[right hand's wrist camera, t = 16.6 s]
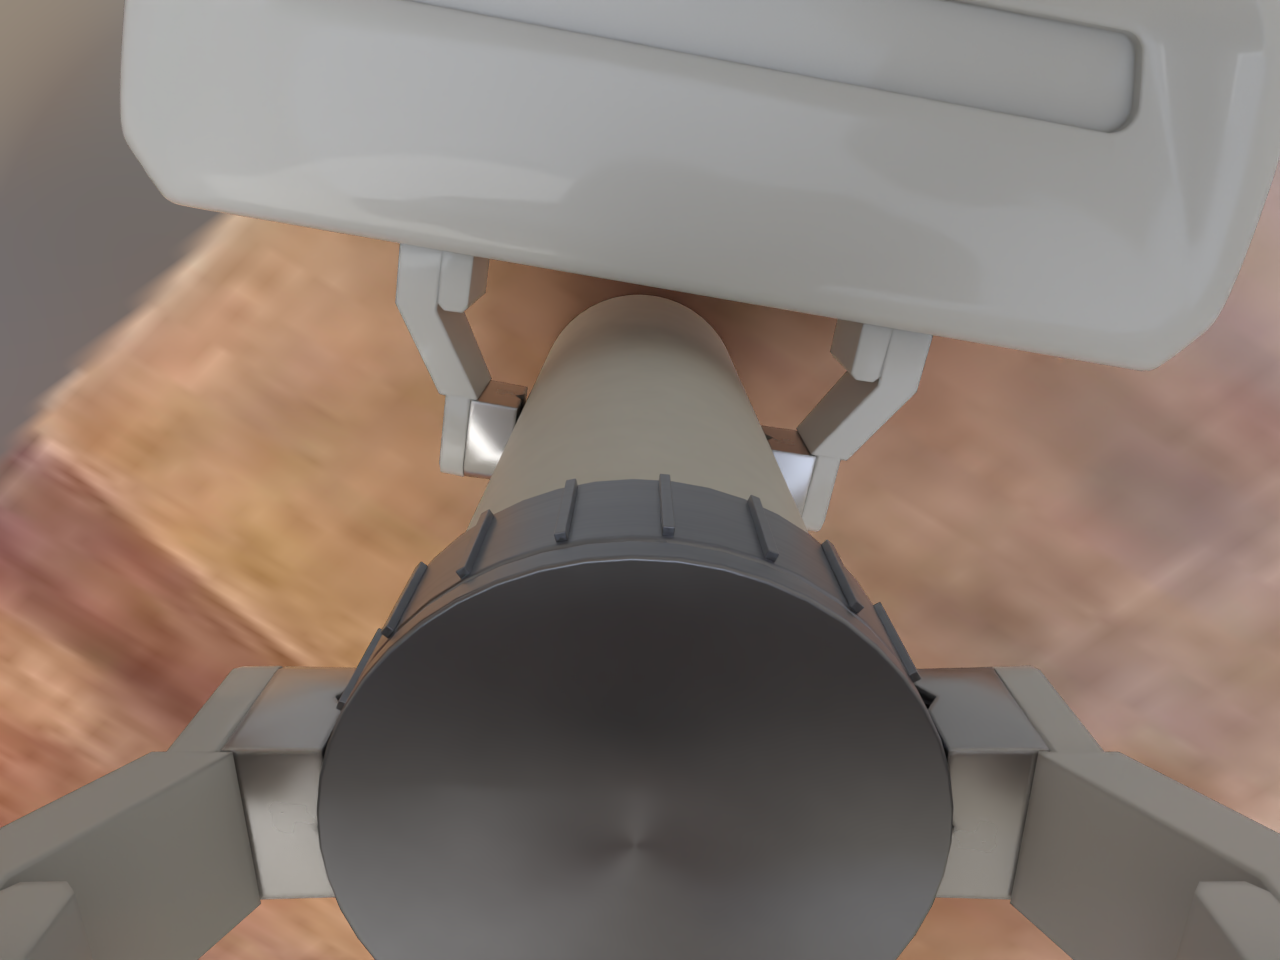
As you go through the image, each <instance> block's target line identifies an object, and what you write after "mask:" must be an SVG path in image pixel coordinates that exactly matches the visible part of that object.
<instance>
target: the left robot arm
mask: <svg viewBox="0 0 1280 960" xmlns="http://www.w3.org/2000/svg"><path fill="white" fill-rule="evenodd" d="M120 119H121V126H122V132H123V135H124V138H125V141H126V143H127V144H128V146H129V148H130V149H131V151H132V152H133V154H134V155H135V157H136V158H137V160H138V161H139V163H140V164H141V166H142V167H143V169H144V170H145V172H146V173H147V175H148V176H149V178H150V179H151V180H152V182H153V183H154V185H155V186H156V187H157V189H158V190H159V191H160V193H161V194H162V195H163V196H164V197H165V198H166V199H167V200H169V201H171V202H173V203H175V204H178V205H182V206H188V207H193V208H199V209H204V210H210V211H216V212H222V213H227V214H233V215H239V216H245V217H251V218H256V219H262V220H268V221H274V222H279V223H285V224H291V225H297V226H303V227H308V228H314V229H320V230H326V231H332V232H337V233H343V234H349V235H355V236H361V237H366V238H372V239H378V240H384V241H389V242H395V243H400V249H399V262H398V276H397V289H396V305H397V307H398V309H399V311H400V313H401V316H402V318H403V320H404V322H405V324H406V326H407V328H408V330H409V332H410V334H411V336H412V338H413V340H414V342H415V345H416V347H417V349H418V351H419V353H420V355H421V357H422V359H423V361H424V363H425V365H426V367H427V369H428V371H429V374H430V376H431V378H432V380H433V382H434V384H435V386H436V388H437V390H438V392H439V394H442V395H446V397H445V408H444V418H443V429H442V439H441V450H440V460H439V464H440V471H441V472H443V473H448V474H453V475H458V476H470V477H477V478H484V479H491V476H492V474H493V472H494V470H495V468H496V466H497V464H498V461H499V459H500V457H501V455H502V453H503V451H504V448H505V446H506V444H507V442H508V440H509V438H510V436H511V433H512V431H513V429H514V427H515V425H516V423H517V421H518V418H519V416H520V414H521V412H522V410H523V408H524V405H525V403H526V396H527V388H528V387H525V386H520V385H514V384H509V383H504V382H498V381H493V380H491V379H492V378H491V376H490V373H489V371H488V368H487V366H486V364H485V361H484V359H483V356H482V354H481V351H480V349H479V347H478V344H477V342H476V339H475V337H474V334H473V332H472V330H471V327H470V325H469V322H468V320H467V317H466V315H465V313H464V311H465V310H466V309H467V308H468V307H470V306H471V305H472V304H473V303H474V302H475V301H477V300H478V299H479V298H480V297H481V296H482V295H484V294H485V293H486V284H487V276H488V268H489V259H494V260H500V261H505V262H511V263H517V264H523V265H528V266H534V267H540V268H546V269H552V270H557V271H563V272H569V273H575V274H581V275H586V276H592V277H598V278H604V279H610V280H615V281H621V282H627V283H633V284H638V285H644V286H650V287H656V288H662V289H667V290H673V291H679V292H685V293H691V294H696V295H702V296H708V297H714V298H720V299H725V300H731V301H737V302H743V303H748V304H754V305H760V306H766V307H772V308H777V309H783V310H789V311H795V312H801V313H806V314H812V315H818V316H824V317H830V318H835V319H837V323H836V328H835V332H834V336H833V341H832V345H831V349H830V352H831V354H832V356H833V357H834V358H835V359H836V360H837V361H838V362H839V363H840V364H841V365H842V366H843V367H844V368H845V369H846V370H847V372H846V373H845V374H844V375H843V376H842V377H841V378H840V379H839V381H838V382H837V383H836V384H835V385H834V386H833V387H832V388H831V390H830V391H829V392H828V393H827V394H826V395H825V396H824V398H823V399H822V400H821V401H820V402H819V403H818V404H817V405H816V407H815V408H814V409H813V410H812V411H811V412H810V413H809V414H808V416H807V417H806V418H805V419H804V420H803V421H802V422H801V423H800V425H799V426H798V427H797V428H796V429H797V430H789V429H782V428H775V427H768V426H761V427H762V430H763V432H764V434H765V436H766V439H767V441H768V443H769V445H770V448H771V450H772V452H773V454H774V457H775V459H776V461H777V463H778V466H779V468H780V470H781V472H782V475H783V477H784V479H785V481H786V484H787V486H788V488H789V490H790V493H791V495H792V497H793V499H794V502H795V504H796V506H797V508H798V511H799V513H800V515H801V517H802V520H803V522H804V524H805V526H806V529H807V531H813V532H818V531H819V530H820V529H821V527H822V525H823V523H824V521H825V518H826V514H827V510H828V506H829V502H830V499H831V495H832V491H833V487H834V483H835V480H836V476H837V472H838V468H839V465H840V461H841V460H845V461H847V460H848V459H849V458H850V457H851V456H852V455H853V454H854V453H855V452H856V451H857V450H858V449H859V448H860V447H861V446H862V445H863V444H864V443H865V442H866V441H867V440H868V439H869V438H870V437H871V436H872V435H873V434H874V433H875V432H876V431H877V430H878V429H879V428H880V427H881V426H882V425H883V424H884V423H885V422H886V421H887V420H888V419H889V418H890V417H892V416H893V415H894V414H895V413H896V412H897V411H898V410H899V409H900V408H901V407H902V406H903V405H904V404H905V403H906V402H907V401H908V400H909V399H910V398H911V397H912V396H913V395H914V394H915V393H916V392H917V389H918V385H919V382H920V378H921V375H922V371H923V368H924V365H925V361H926V358H927V354H928V351H929V347H930V344H931V340H932V337H933V335H934V336H940V337H945V338H951V339H957V340H963V341H969V342H974V343H980V344H986V345H992V346H997V347H1003V348H1009V349H1015V350H1021V351H1026V352H1032V353H1038V354H1044V355H1050V356H1055V357H1061V358H1067V359H1073V360H1079V361H1084V362H1090V363H1096V364H1102V365H1108V366H1114V367H1120V368H1126V369H1131V370H1137V371H1150V370H1153V369H1156V368H1158V367H1159V366H1161V365H1162V364H1164V363H1165V362H1167V361H1168V360H1170V359H1171V358H1173V357H1174V356H1175V355H1177V354H1178V353H1179V352H1180V351H1182V350H1183V349H1184V348H1186V347H1187V346H1188V345H1190V344H1191V343H1192V342H1193V341H1195V340H1196V339H1197V338H1198V337H1200V336H1201V335H1202V334H1203V333H1205V332H1206V331H1207V330H1208V329H1209V328H1210V327H1211V326H1212V325H1213V323H1214V322H1215V321H1216V319H1217V318H1218V316H1219V314H1220V312H1221V311H1222V309H1223V307H1224V305H1225V304H1226V301H1227V299H1228V297H1229V294H1230V292H1231V290H1232V288H1233V285H1234V283H1235V281H1236V279H1237V276H1238V274H1239V272H1240V269H1241V266H1242V264H1243V261H1244V258H1245V256H1246V253H1247V251H1248V248H1249V245H1250V243H1251V240H1252V238H1253V235H1254V232H1255V229H1256V227H1257V224H1258V221H1259V218H1260V215H1261V212H1262V209H1263V206H1264V204H1265V201H1266V198H1267V195H1268V192H1269V189H1270V186H1271V183H1272V180H1273V177H1274V174H1275V171H1276V168H1277V165H1278V162H1279V159H1280V0H124V14H123V30H122V46H121V71H120Z"/></svg>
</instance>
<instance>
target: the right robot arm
mask: <svg viewBox="0 0 1280 960" xmlns="http://www.w3.org/2000/svg"><path fill="white" fill-rule="evenodd" d="M355 670H356V668H340V667H290V666H286V667H282V666H242V667H239V668H235V669H233V670H232V671H231V672H230V673H229V674H228V675H227V677H226V678H225V679H224V680H223V682H222V683H221V684H220V685H219V687H218V688H217V689H216V690H215V692H214V693H213V694H212V695H211V697H210V698H209V699H208V700H207V702H206V703H205V704H204V705H203V707H202V708H201V709H200V710H199V711H198V713H197V714H196V715H195V716H194V718H193V719H192V720H191V721H190V723H189V724H188V725H187V726H186V728H185V729H184V730H183V731H182V733H181V734H180V735H179V736H178V738H177V739H176V740H175V741H174V743H173V744H172V745H171V746H170V748H169V749H168V750H167V751H166V752H151V753H149V754H147V755H145V756H143V757H141V758H139V759H137V760H135V761H133V762H131V763H129V764H127V765H125V766H123V767H121V768H119V769H117V770H115V771H113V772H111V773H109V774H107V775H105V776H103V777H101V778H99V779H97V780H95V781H93V782H91V783H89V784H87V785H85V786H83V787H81V788H79V789H77V790H75V791H73V792H71V793H69V794H67V795H65V796H63V797H61V798H59V799H57V800H55V801H53V802H51V803H49V804H47V805H45V806H43V807H41V808H39V809H37V810H35V811H33V812H31V813H29V814H27V815H25V816H23V817H21V818H19V819H17V820H15V821H13V822H11V823H9V824H7V825H5V826H3V827H2V828H0V960H198V959H199V958H200V957H201V956H202V955H203V954H205V953H206V952H207V951H208V950H209V949H210V948H211V947H212V946H214V945H215V944H216V943H217V942H218V941H219V940H220V939H222V938H223V937H224V936H225V935H226V934H227V933H228V932H229V931H231V930H232V929H233V928H234V927H235V926H236V925H237V924H239V923H240V922H241V921H242V920H243V919H244V918H245V917H246V916H248V915H249V914H250V913H251V912H252V911H253V910H254V909H256V908H257V907H258V906H259V905H260V904H261V901H260V899H292V898H326V897H335V895H334V893H333V890H332V888H331V886H330V883H329V881H328V878H327V874H326V870H325V866H324V862H323V858H322V854H321V850H320V846H319V835H318V823H317V811H316V810H317V797H318V785H319V775H320V771H321V767H322V763H323V759H324V755H325V751H326V747H327V743H328V741H329V738H330V736H331V734H332V731H333V729H334V727H335V724H336V722H337V720H338V718H339V715H340V713H341V711H340V710H337V709H336V706H337V703H338V701H339V699H340V697H341V695H342V693H343V692H344V690H345V688H346V686H347V684H348V683H349V681H350V679H351V677H352V675H353V674H354V672H355ZM917 671H918V673H919V675H920V677H921V680H919V681H917V682H915V683H914V685H915V687H916V688H917V690H918V692H919V694H920V696H921V698H922V700H923V702H924V704H925V706H926V708H927V710H928V712H929V714H930V716H931V719H932V721H933V723H934V725H935V727H936V729H937V732H938V734H939V736H940V738H941V741H942V745H943V749H944V752H945V756H946V759H947V763H948V767H949V770H950V776H951V786H952V795H953V805H954V810H953V826H952V842H951V847H950V851H949V855H948V860H947V864H946V869H945V873H944V877H943V879H942V882H941V884H940V887H939V889H938V892H937V894H936V897H943V898H979V899H1011V901H1010V903H1011V904H1012V905H1013V906H1014V907H1015V908H1016V909H1017V910H1018V911H1019V912H1021V913H1022V914H1023V915H1024V916H1025V917H1026V918H1027V919H1028V920H1030V921H1031V922H1032V923H1033V924H1034V925H1035V926H1036V927H1037V928H1039V929H1040V930H1041V931H1042V932H1043V933H1044V934H1045V935H1046V936H1047V937H1049V938H1050V939H1051V940H1052V941H1053V942H1054V943H1055V944H1056V945H1058V946H1059V947H1060V948H1061V949H1062V950H1063V951H1064V952H1065V953H1067V954H1068V955H1069V956H1070V957H1071V958H1072V959H1073V960H1280V834H1279V833H1277V832H1275V831H1273V830H1271V829H1269V828H1267V827H1265V826H1263V825H1261V824H1259V823H1257V822H1255V821H1254V820H1252V819H1250V818H1248V817H1246V816H1244V815H1242V814H1240V813H1238V812H1236V811H1234V810H1232V809H1230V808H1228V807H1226V806H1224V805H1222V804H1220V803H1218V802H1216V801H1214V800H1212V799H1210V798H1208V797H1206V796H1204V795H1202V794H1200V793H1199V792H1197V791H1195V790H1193V789H1191V788H1189V787H1187V786H1185V785H1183V784H1181V783H1179V782H1177V781H1175V780H1173V779H1171V778H1169V777H1167V776H1165V775H1163V774H1161V773H1159V772H1157V771H1155V770H1153V769H1151V768H1149V767H1147V766H1146V765H1144V764H1142V763H1140V762H1138V761H1136V760H1134V759H1132V758H1130V757H1128V756H1126V755H1124V754H1122V753H1120V752H1104V751H1103V749H1102V748H1101V747H1100V746H1099V744H1098V743H1097V742H1096V740H1095V739H1094V738H1093V737H1092V735H1091V734H1090V733H1089V732H1088V730H1087V729H1086V728H1085V727H1084V725H1083V724H1082V723H1081V721H1080V720H1079V719H1078V718H1077V716H1076V715H1075V714H1074V713H1073V711H1072V710H1071V709H1070V708H1069V706H1068V705H1067V704H1066V703H1065V701H1064V700H1063V699H1062V697H1061V696H1060V695H1059V694H1058V692H1057V691H1056V690H1055V689H1054V687H1053V686H1052V685H1051V684H1050V682H1049V681H1048V680H1047V679H1046V677H1045V676H1044V675H1043V673H1042V672H1041V671H1040V670H1039V669H1037V668H1035V667H1033V666H1031V665H1029V666H1003V667H977V668H938V669H917Z"/></svg>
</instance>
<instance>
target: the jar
mask: <svg viewBox="0 0 1280 960" xmlns="http://www.w3.org/2000/svg"><path fill="white" fill-rule="evenodd" d="M660 474H669V475H670V479H671V481H674V482H679V483H685V484H690V485H696V486H702V487H707V488H711V489H714V490H718V491H721V492H724V493H727V494H730V495H733V496H737V497H740V498H743V499H746V500H748V499H749V497H750V495H753V496H756V497H758V498H760V500H761V503H762V506H763V508H765V509H767V510H770V511H772V512H774V513H776V514H778V515H780V516H781V517H783V518H785V519H786V520H788V521H789V522H791V523H793V524H794V525H796V526H797V527H799V528H800V529H802V530H804V531H805V532H807V533H808V531H807V529H806V526H805V524H804V522H803V520H802V517H801V515H800V513H799V511H798V508H797V506H796V504H795V502H794V499H793V497H792V495H791V493H790V490H789V488H788V486H787V484H786V481H785V479H784V477H783V475H782V472H781V470H780V468H779V466H778V463H777V461H776V459H775V457H774V454H773V452H772V450H771V448H770V445H769V443H768V441H767V439H766V436H765V434H764V432H763V430H762V427H761V425H760V423H759V421H758V418H757V416H756V414H755V412H754V409H753V407H752V405H751V403H750V400H749V398H748V396H747V394H746V391H745V389H744V387H743V385H742V382H741V380H740V378H739V376H738V373H737V371H736V369H735V367H734V364H733V362H732V360H731V358H730V355H729V353H728V351H727V349H726V347H725V345H724V343H723V342H722V340H721V338H720V337H719V335H718V334H717V333H716V331H715V330H714V329H713V328H712V327H711V325H710V324H708V323H707V322H706V321H705V320H704V319H703V318H702V317H701V316H700V315H698V314H697V313H695V312H694V311H693V310H691V309H689V308H687V307H686V306H684V305H682V304H680V303H677V302H675V301H672V300H669V299H666V298H662V297H658V296H652V295H626V296H620V297H615V298H611V299H608V300H605V301H602V302H600V303H598V304H596V305H594V306H591V307H590V308H588V309H587V310H585V311H583V312H582V313H580V314H579V315H578V316H577V317H576V318H574V319H573V320H572V321H571V322H570V323H569V324H568V325H567V326H566V327H565V328H564V329H563V331H562V332H561V333H560V335H559V336H558V337H557V339H556V340H555V342H554V344H553V346H552V348H551V350H550V352H549V354H548V356H547V358H546V360H545V362H544V365H543V367H542V369H541V371H540V373H539V375H538V377H537V380H536V382H535V384H534V386H533V388H532V390H531V393H530V395H529V397H528V399H527V401H526V403H525V405H524V408H523V410H522V412H521V414H520V416H519V418H518V421H517V423H516V425H515V427H514V429H513V431H512V433H511V436H510V438H509V440H508V442H507V444H506V446H505V448H504V451H503V453H502V455H501V457H500V459H499V461H498V464H497V466H496V468H495V470H494V472H493V474H492V476H491V479H490V481H489V483H488V485H487V487H486V489H485V491H484V494H483V496H482V498H481V500H480V502H479V504H478V507H477V509H476V511H475V513H474V515H473V517H472V519H471V522H470V524H469V526H468V528H467V530H466V531H468V530H469V529H471V528H473V527H474V526H476V524H477V522H478V520H479V517H480V515H481V513H483V512H485V511H486V510H488V509H490V511H491V512H492V513H493V514H495V513H498V512H500V511H502V510H504V509H506V508H508V507H510V506H512V505H514V504H516V503H518V502H521V501H523V500H526V499H529V498H532V497H535V496H538V495H541V494H544V493H547V492H550V491H553V490H556V489H560V488H564V487H565V483H566V480H570V479H576V480H577V484H578V485H580V484H586V483H591V482H597V481H612V480H626V479H643V480H659V475H660ZM808 534H809V533H808Z"/></svg>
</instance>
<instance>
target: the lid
mask: <svg viewBox="0 0 1280 960" xmlns="http://www.w3.org/2000/svg"><path fill="white" fill-rule="evenodd" d="M919 680H921V677H920V675H919V673H918V671H917V669H916V667H915V666H914V664H913V662H912V660H911V658H910V656H909V654H908V653H907V651H906V649H905V647H904V645H903V643H902V641H901V640H900V638H899V636H898V634H897V632H896V630H895V628H894V626H893V625H892V623H891V621H890V619H889V617H888V615H887V613H886V612H885V610H884V608H883V606H882V604H881V603H880V602H879V603H877V604H875V605H873V604H872V603H871V601H870V600H869V598H868V597H867V595H866V594H865V592H864V591H863V589H862V587H861V586H860V584H859V583H858V581H857V580H856V579H855V578H854V577H853V576H852V575H851V573H850V572H849V571H848V570H847V569H846V568H845V567H844V565H843V563H842V561H841V559H840V557H839V555H838V553H837V551H836V549H835V547H834V545H833V544H832V543H831V542H830V541H828V540H826V541H825V542H824V543H823V544H822V545H821V544H820V543H819V542H818V541H817V540H815V539H814V538H813V537H812V536H811V535H809V534H808V533H807V532H805V531H804V530H802V529H800V528H799V527H797V526H796V525H794V524H793V523H791V522H789V521H788V520H786V519H785V518H783V517H781V516H780V515H778V514H776V513H774V512H772V511H770V510H767V509H765V508H763V506H762V503H761V500H760V498H758V497H756V496H753V495H750V497H749V499H748V500H746V499H743V498H740V497H737V496H733V495H730V494H727V493H724V492H721V491H718V490H714V489H711V488H707V487H702V486H696V485H690V484H685V483H679V482H674V481H671V479H670V475H669V474H660V475H659V480H643V479H626V480H612V481H597V482H591V483H586V484H580V485H578V484H577V480H576V479H570V480H566V483H565V487H564V488H560V489H556V490H553V491H550V492H547V493H544V494H541V495H538V496H535V497H532V498H529V499H526V500H523V501H521V502H518V503H516V504H514V505H512V506H510V507H508V508H506V509H504V510H502V511H500V512H498V513H495V514H493V513H492V512H491V511H490V509H488V510H486V511H485V512H483V513H481V515H480V517H479V520H478V522H477V524H476V526H474V527H473V528H471V529H469V530H468V531H466V532H465V533H463V534H462V535H460V536H459V537H458V538H457V539H456V540H455V541H453V542H452V543H451V544H450V545H449V546H448V547H446V548H445V549H444V550H443V551H442V552H441V553H440V554H438V555H437V556H436V557H435V558H434V559H433V560H432V561H431V562H430V564H429V565H428V566H427V565H425V564H424V563H423V562H420V563H419V564H418V565H417V567H416V568H415V570H414V572H413V573H412V575H411V577H410V579H409V581H408V583H407V584H406V586H405V588H404V590H403V592H402V594H401V595H400V597H399V599H398V601H397V603H396V605H395V606H394V608H393V610H392V612H391V614H390V616H389V617H388V619H387V621H386V623H385V625H384V627H383V628H382V629H380V628H379V629H378V630H377V632H376V634H375V636H374V637H373V639H372V641H371V643H370V645H369V646H368V648H367V650H366V652H365V654H364V656H363V657H362V659H361V661H360V663H359V665H358V666H357V668H356V670H355V672H354V674H353V675H352V677H351V679H350V681H349V683H348V684H347V686H346V688H345V690H344V692H343V693H342V695H341V697H340V699H339V701H338V703H337V706H336V709H337V710H340V711H341V713H340V715H339V718H338V720H337V722H336V724H335V727H334V729H333V731H332V734H331V736H330V738H329V741H328V743H327V747H326V751H325V755H324V759H323V763H322V767H321V771H320V775H319V785H318V797H317V810H316V811H317V823H318V835H319V846H320V850H321V854H322V858H323V862H324V866H325V870H326V874H327V878H328V881H329V883H330V886H331V888H332V890H333V893H334V895H335V898H336V900H337V902H338V905H339V907H340V909H341V911H342V913H343V914H344V916H345V918H346V919H347V921H348V923H349V924H350V926H351V928H352V929H353V931H354V933H355V934H356V936H357V938H358V939H359V940H360V941H361V943H362V944H363V945H364V946H365V948H366V949H367V950H368V951H369V953H370V954H371V955H372V956H373V958H374V959H375V960H896V959H897V958H898V957H899V955H900V954H901V953H902V951H903V950H904V949H905V948H906V946H907V945H908V944H909V942H910V941H911V940H912V939H913V937H914V936H915V935H916V933H917V931H918V929H919V928H920V926H921V924H922V922H923V921H924V919H925V917H926V915H927V914H928V912H929V910H930V908H931V907H932V904H933V902H934V899H935V897H936V894H937V892H938V889H939V887H940V884H941V882H942V879H943V877H944V873H945V869H946V864H947V860H948V855H949V851H950V847H951V842H952V826H953V810H954V805H953V795H952V786H951V776H950V770H949V767H948V763H947V759H946V756H945V752H944V749H943V745H942V741H941V738H940V736H939V734H938V732H937V729H936V727H935V725H934V723H933V721H932V719H931V716H930V714H929V712H928V710H927V708H926V706H925V704H924V702H923V700H922V698H921V696H920V694H919V692H918V690H917V688H916V687H915V685H914V683H915V682H917V681H919Z"/></svg>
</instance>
